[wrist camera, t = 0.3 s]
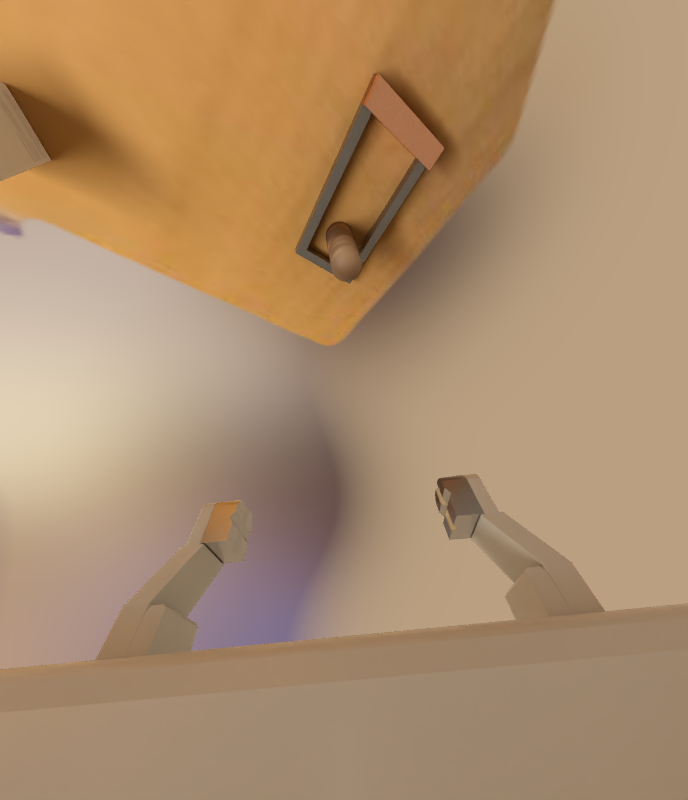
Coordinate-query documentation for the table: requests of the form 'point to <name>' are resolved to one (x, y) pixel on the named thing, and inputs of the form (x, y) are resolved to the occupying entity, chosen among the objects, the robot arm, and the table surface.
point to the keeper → (343, 252)
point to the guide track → (389, 114)
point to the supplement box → (17, 139)
